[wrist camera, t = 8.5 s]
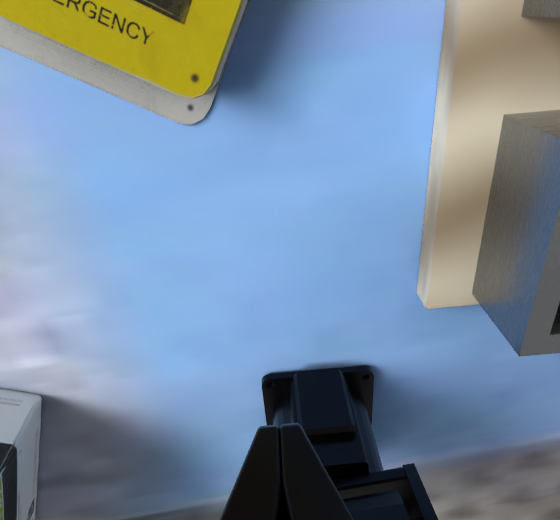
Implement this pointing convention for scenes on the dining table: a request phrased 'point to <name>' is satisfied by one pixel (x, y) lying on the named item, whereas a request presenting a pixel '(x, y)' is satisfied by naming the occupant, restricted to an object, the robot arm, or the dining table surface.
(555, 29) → the board
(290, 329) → the dining table surface
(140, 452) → the dining table surface
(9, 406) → the tea box
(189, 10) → the emergency button
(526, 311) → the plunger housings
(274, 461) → the robot arm
